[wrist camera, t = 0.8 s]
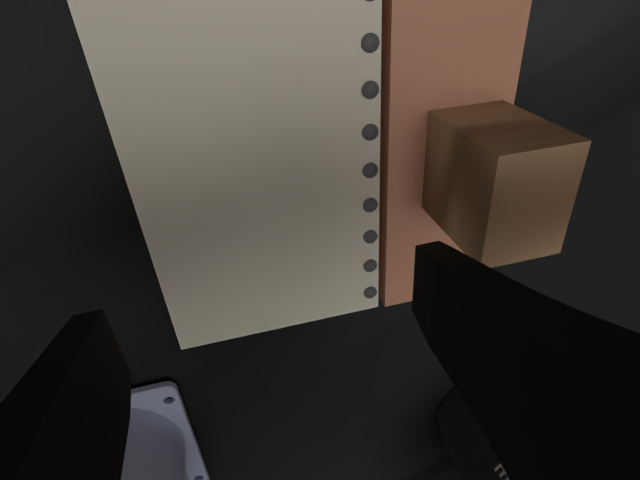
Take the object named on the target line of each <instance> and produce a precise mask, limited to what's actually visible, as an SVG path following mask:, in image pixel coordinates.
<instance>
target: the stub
mask: <svg viewBox="0 0 640 480" xmlns="http://www.w3.org/2000/svg"><path fill="white" fill-rule="evenodd" d="M531 3H532V0H382V32H381V114H380V197H379V279H378V295H379V297H380V299H381V300H382V302H383V304H384V306H385V307H386V306H390V305H395V304H399V303H404V302H408V301H412V298H413V281H414V263H415V246H416V245H420V244H425V243H430V242H435V241H441V242H443V243H445V244H447V245H449V246H451V247H453V248H455V249H457V250H459V251H461V252H462V253H464V254H466V255H468V256H470V257H472V258H473V259H475V260H477V261H479V262H481V263H483V264H485V265H486V266H488V267H490V268H492V267H497V266H502V265H506V264H511V263H516V262H520V261H525V260H530V259H534V258H539V257H544V256H548V255H553V254H558V253H560V251H561V248H562V244H563V241H564V237H565V233H566V230H567V226H568V223H569V219H570V216H571V212H572V208H573V205H574V201H575V198H576V194H577V191H578V187H579V184H580V180H581V176H582V173H583V169H584V166H585V162H586V159H587V155H588V151H589V148H590V144H591V140H589V139H587V138H585V137H582V136H580V135H578V134H576V133H574V132H572V131H569V130H567V129H565V128H563V127H561V126H558V125H556V124H554V123H552V122H550V121H548V120H545V119H543V118H541V117H539V116H537V115H535V114H532V113H530V112H528V111H526V110H524V109H521V108H519V107H517V106H515V105H514V100H515V95H516V89H517V83H518V77H519V72H520V66H521V60H522V54H523V49H524V43H525V37H526V31H527V26H528V20H529V14H530V8H531Z"/></svg>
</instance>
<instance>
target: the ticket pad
mask: <svg viewBox="0 0 640 480" xmlns="http://www.w3.org/2000/svg"><path fill="white" fill-rule="evenodd" d="M67 2H68V5H69V8H70V11H71V14H72V18H73V21H74V24H75V27H76V30H77V33H78V36H79V39H80V42H81V45H82V48H83V51H84V54H85V57H86V60H87V63H88V66H89V69H90V73H91V76H92V79H93V82H94V85H95V88H96V91H97V94H98V97H99V100H100V103H101V106H102V109H103V112H104V115H105V118H106V121H107V124H108V128H109V131H110V134H111V137H112V140H113V143H114V146H115V149H116V152H117V155H118V158H119V161H120V164H121V167H122V170H123V173H124V176H125V180H126V183H127V186H128V189H129V192H130V195H131V198H132V201H133V204H134V207H135V210H136V213H137V216H138V219H139V222H140V225H141V228H142V231H143V235H144V238H145V241H146V244H147V247H148V250H149V253H150V256H151V259H152V262H153V265H154V268H155V271H156V274H157V277H158V280H159V283H160V286H161V290H162V293H163V296H164V299H165V302H166V305H167V308H168V311H169V314H170V317H171V320H172V323H173V326H174V329H175V332H176V335H177V338H178V342H179V345H180V348H181V350H183V349H187V348H192V347H196V346H201V345H205V344H210V343H215V342H219V341H224V340H228V339H233V338H237V337H242V336H246V335H251V334H256V333H260V332H265V331H269V330H274V329H278V328H283V327H288V326H292V325H297V324H301V323H306V322H310V321H315V320H319V319H324V318H329V317H333V316H338V315H342V314H347V313H351V312H356V311H360V310H365V309H370V308H374V307H378V279H379V197H380V114H381V32H382V0H67Z"/></svg>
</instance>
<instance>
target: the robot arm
mask: <svg viewBox="0 0 640 480" xmlns="http://www.w3.org/2000/svg"><path fill="white" fill-rule="evenodd" d="M412 311H413V313H414V315H415V317H416V320H417V322H418V324H419V326H420V328H421V331H422V333H423V335H424V337H425V339H426V341H427V343H428V345H429V346H430V348H431V350H432V351H433V353H434V354H435V356H436V357H437V359H438V361H439V362H440V364H441V365H442V367H443V368H444V370H445V372H446V373H447V375H448V376H449V378H450V379H451V381H452V382H453V384H454V385H455V387H456V388H457V390H458V392H459V393H460V395H461V396H462V398H463V399H464V401H465V402H466V404H467V405H468V407H469V408H470V410H471V412H472V413H473V415H474V416H475V418H476V419H477V421H478V423H479V424H480V426H481V428H482V429H483V431H484V433H485V434H486V436H487V438H488V440H489V441H490V443H491V445H492V447H493V449H494V451H495V453H496V455H497V457H498V459H499V461H500V463H501V465H502V467H503V468H504V470H505V472H506V474H507V476H508V478H509V480H640V333H638V332H635V331H632V330H629V329H626V328H624V327H621V326H618V325H615V324H613V323H610V322H607V321H605V320H602V319H600V318H597V317H595V316H592V315H589V314H587V313H584V312H582V311H579V310H577V309H575V308H572V307H570V306H567V305H565V304H563V303H561V302H559V301H556V300H554V299H552V298H550V297H548V296H546V295H543V294H541V293H539V292H537V291H535V290H533V289H531V288H529V287H527V286H525V285H523V284H521V283H519V282H517V281H515V280H513V279H511V278H509V277H507V276H505V275H503V274H501V273H499V272H498V271H496V270H494V269H492V268H490V267H488V266H486V265H485V264H483V263H481V262H479V261H477V260H475V259H473V258H472V257H470V256H468V255H466V254H464V253H462V252H461V251H459V250H457V249H455V248H453V247H451V246H449V245H447V244H445V243H443V242H441V241H435V242H430V243H425V244H420V245H416V246H415V263H414V281H413V298H412ZM167 397H171V398H167ZM0 480H210V477H209V474H208V471H207V468H206V466H205V463H204V460H203V457H202V454H201V452H200V449H199V446H198V443H197V440H196V438H195V435H194V432H193V429H192V426H191V423H190V421H189V418H188V415H187V412H186V409H185V407H184V404H183V401H182V398H181V395H180V393H179V390H178V387H177V385H176V384H175V383H174V382H171V381H164V382H160V383H156V384H151V385H147V386H142V387H138V388H134V389H131V372H130V370H129V368H128V365H127V363H126V361H125V358H124V356H123V354H122V352H121V349H120V347H119V345H118V343H117V340H116V338H115V336H114V334H113V331H112V329H111V327H110V325H109V322H108V320H107V318H106V315H105V313H104V311H103V309H102V310H97V311H92V312H87V313H82V314H78V315H73V316H72V317H71V318H70V319H69V321H68V322H67V323H66V324H65V325H64V327H63V328H62V329H61V330H60V331H59V333H58V334H57V335H56V336H55V338H54V339H53V340H52V341H51V343H50V344H49V345H48V346H47V348H46V349H45V350H44V352H43V353H42V354H41V355H40V357H39V358H38V359H37V360H36V361H35V363H34V364H33V365H32V366H31V368H30V369H29V370H28V371H27V372H26V374H25V375H24V376H23V377H22V378H21V380H20V381H19V382H18V383H17V385H16V386H15V387H14V388H13V389H12V391H11V392H10V393H9V394H8V395H7V397H6V398H5V399H4V400H3V401H2V402H1V403H0Z"/></svg>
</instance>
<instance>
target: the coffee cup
mask: <svg viewBox="0 0 640 480" xmlns="http://www.w3.org/2000/svg"><path fill="white" fill-rule="evenodd" d="M437 421H438V424H439V427H440V429H441V431H442V434H443V436H444V438H445V441H446V443H447V445H448V448H449V450H450V452H451V455H452V457H453V459H454V462H455V464H456V466H457V469H458V471H459V473H460V475H461V478H462V480H509V478H508V476H507V474H506V472H505V470H504V468H503V467H502V465H501V463H500V461H499V459H498V457H497V455H496V453H495V451H494V449H493V447H492V445H491V443H490V441H489V440H488V438H487V436H486V434H485V433H484V431H483V429H482V428H481V426H480V424H479V423H478V421H477V419H476V418H475V416H474V415H473V413H472V412H471V410H470V408H469V407H468V405H467V404H466V402H465V401H464V399H463V398H462V396H461V395H460V393H459V392H458V390H457V388H456V387H455V388H454V389H453V390H452V391H451V392H450V393H449V394H448V395H447V396H446V398H445V399H444V400H443V402H442V404H441V405H440V408H439V410H438V414H437Z"/></svg>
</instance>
